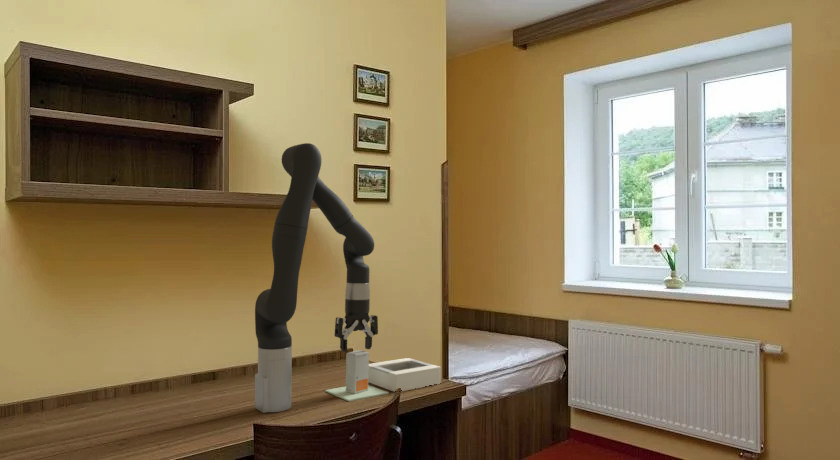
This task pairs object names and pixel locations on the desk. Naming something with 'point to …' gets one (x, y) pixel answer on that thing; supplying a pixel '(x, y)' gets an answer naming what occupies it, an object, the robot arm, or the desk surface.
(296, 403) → the desk surface
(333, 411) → the desk surface
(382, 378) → the access box
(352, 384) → the skincare box
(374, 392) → the place mat
